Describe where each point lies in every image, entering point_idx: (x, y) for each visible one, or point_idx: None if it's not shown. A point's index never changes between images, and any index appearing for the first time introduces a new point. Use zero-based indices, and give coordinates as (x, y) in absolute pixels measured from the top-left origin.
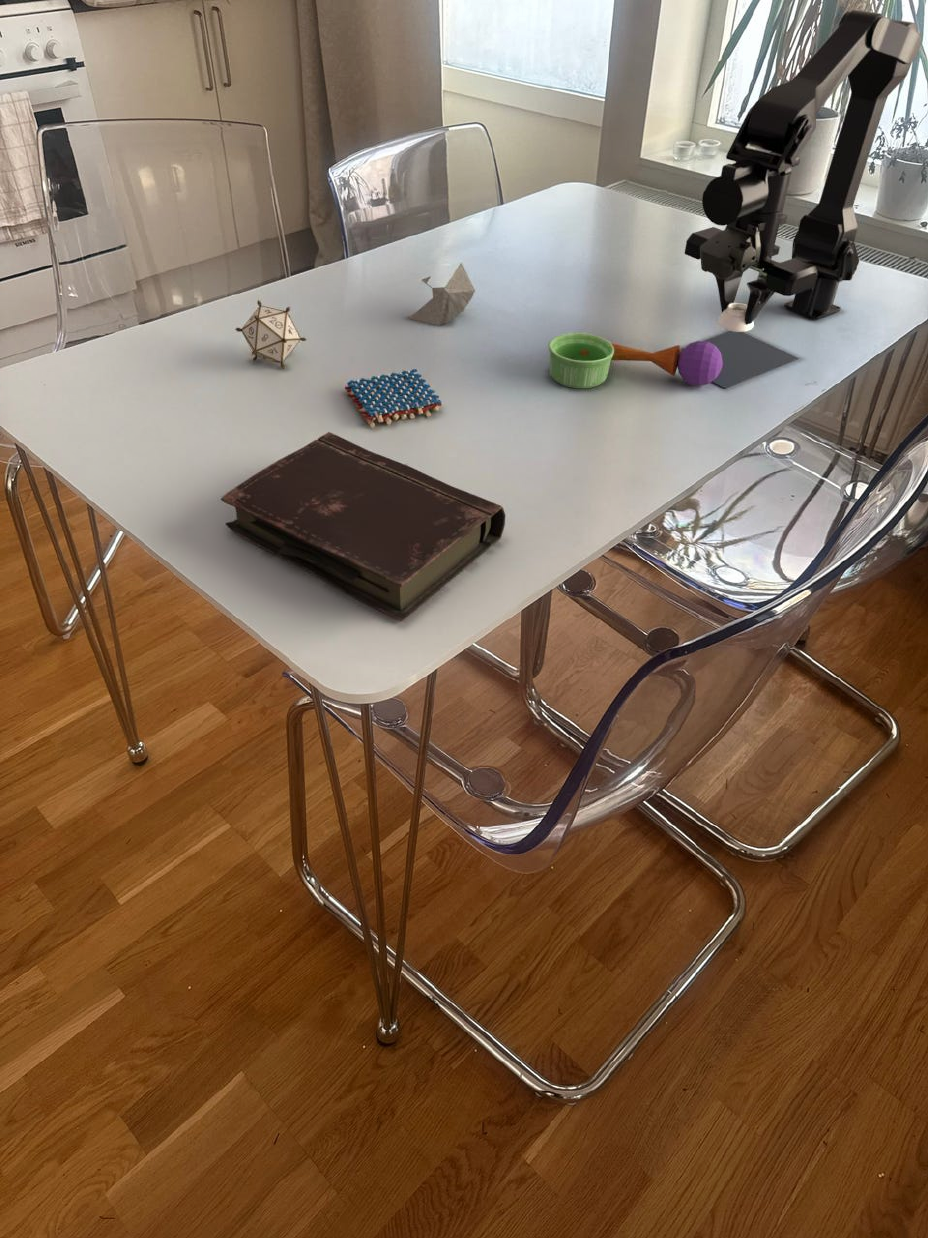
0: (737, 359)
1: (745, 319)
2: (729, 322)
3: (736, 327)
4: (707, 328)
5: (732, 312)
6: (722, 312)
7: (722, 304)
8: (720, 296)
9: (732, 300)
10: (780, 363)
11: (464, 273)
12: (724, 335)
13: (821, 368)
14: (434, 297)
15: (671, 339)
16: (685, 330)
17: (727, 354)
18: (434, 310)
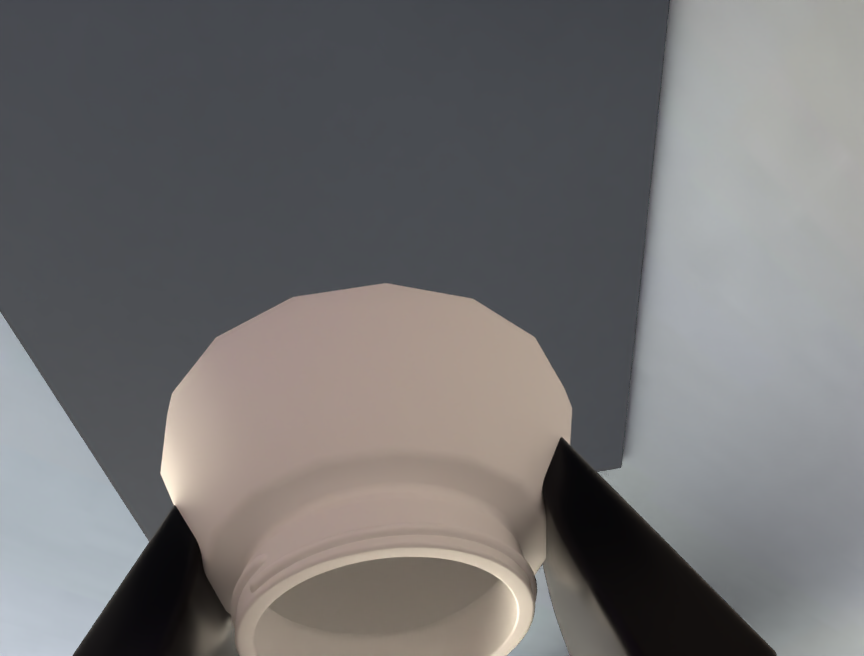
0: (267, 264)
1: (176, 550)
2: (284, 385)
3: (199, 400)
4: (746, 352)
5: (333, 519)
6: (560, 449)
7: (602, 525)
8: (699, 608)
9: (571, 644)
10: (115, 454)
11: None
12: (603, 381)
13: (8, 578)
14: None
15: (858, 9)
16: (847, 216)
17: (373, 248)
18: None
